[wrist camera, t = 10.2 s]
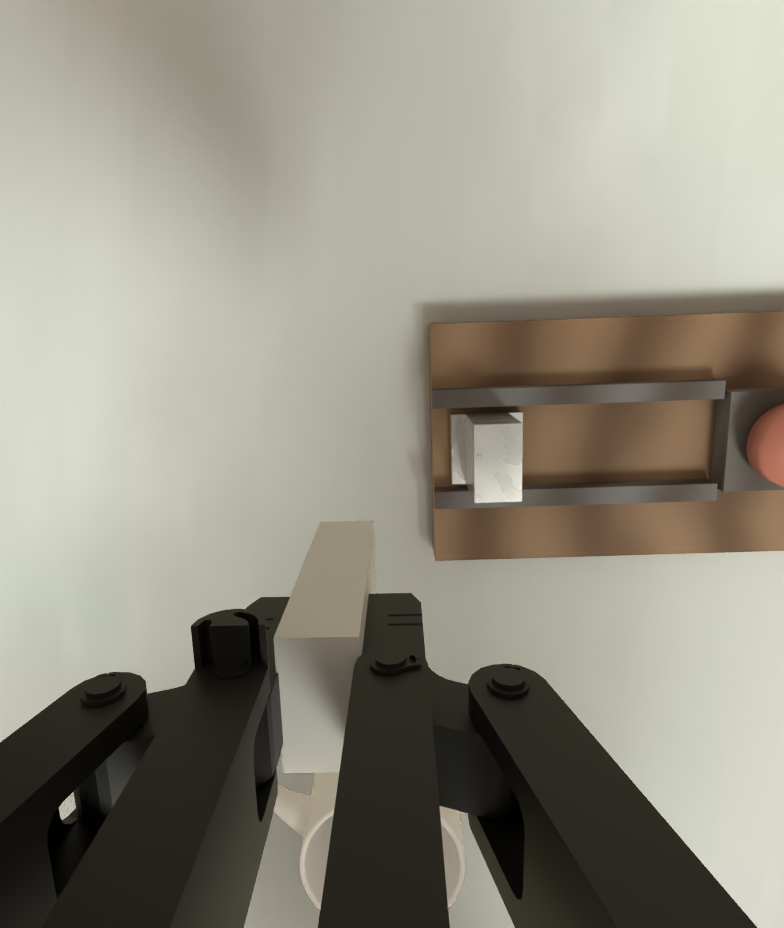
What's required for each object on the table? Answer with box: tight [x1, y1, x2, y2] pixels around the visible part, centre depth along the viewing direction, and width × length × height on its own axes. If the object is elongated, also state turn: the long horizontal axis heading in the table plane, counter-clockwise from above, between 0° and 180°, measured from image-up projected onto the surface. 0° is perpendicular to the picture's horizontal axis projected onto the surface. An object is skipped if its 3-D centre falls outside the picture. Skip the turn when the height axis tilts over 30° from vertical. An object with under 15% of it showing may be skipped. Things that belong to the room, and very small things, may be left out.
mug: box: [274, 772, 466, 910], centre depth 36 cm, size 9×12×11 cm
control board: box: [429, 311, 784, 561], centre depth 35 cm, size 36×14×4 cm, turn 92°
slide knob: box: [450, 411, 523, 503], centre depth 33 cm, size 4×4×5 cm
